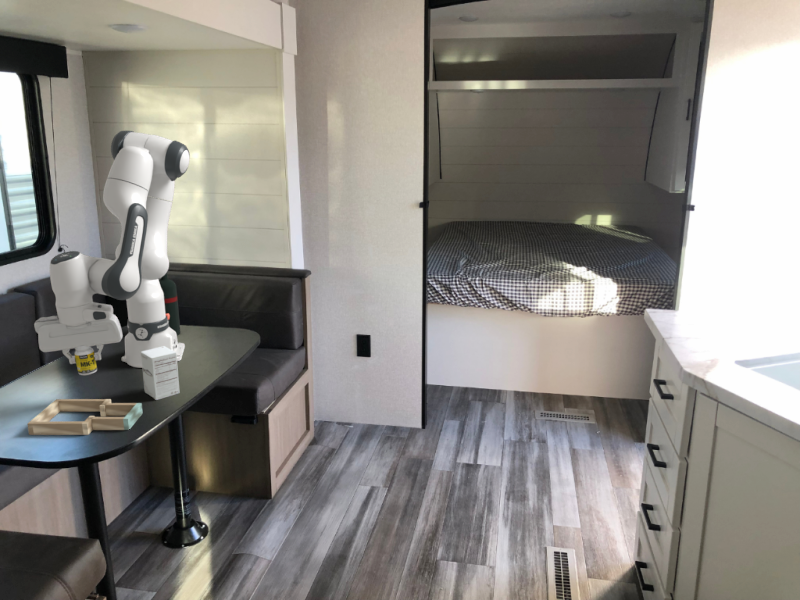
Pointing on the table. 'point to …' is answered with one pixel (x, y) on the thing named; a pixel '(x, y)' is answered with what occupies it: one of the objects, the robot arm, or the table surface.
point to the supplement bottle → (85, 360)
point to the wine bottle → (170, 302)
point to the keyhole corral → (106, 408)
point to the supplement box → (160, 372)
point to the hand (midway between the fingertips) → (86, 361)
